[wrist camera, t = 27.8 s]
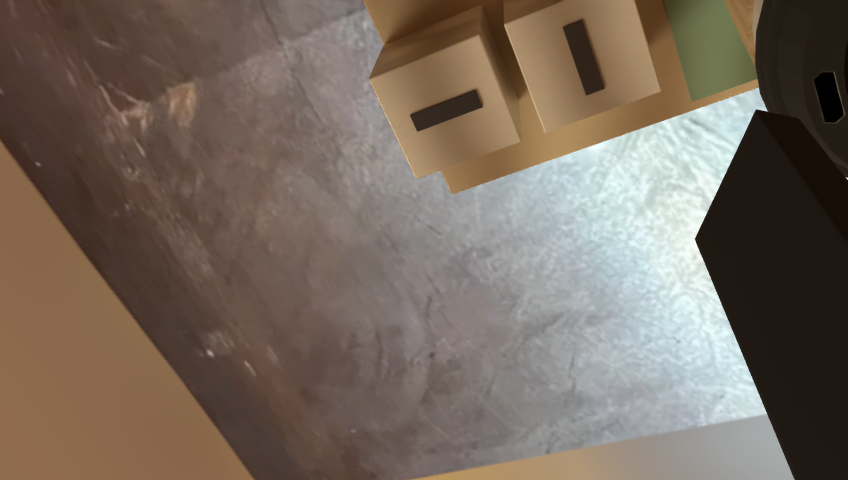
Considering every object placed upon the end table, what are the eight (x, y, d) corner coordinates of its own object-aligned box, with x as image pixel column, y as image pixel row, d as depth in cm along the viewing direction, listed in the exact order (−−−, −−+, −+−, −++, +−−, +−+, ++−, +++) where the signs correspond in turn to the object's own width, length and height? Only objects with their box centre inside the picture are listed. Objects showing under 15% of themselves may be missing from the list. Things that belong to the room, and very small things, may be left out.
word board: (452, 186, 41) (446, 244, 36) (353, -31, 36) (329, 0, 31) (946, 12, 35) (1026, 52, 30) (913, -281, 30) (1002, -296, 25)
